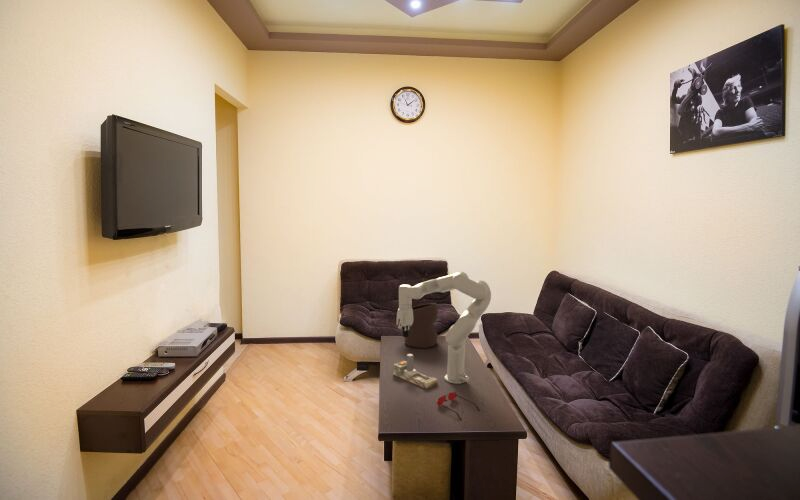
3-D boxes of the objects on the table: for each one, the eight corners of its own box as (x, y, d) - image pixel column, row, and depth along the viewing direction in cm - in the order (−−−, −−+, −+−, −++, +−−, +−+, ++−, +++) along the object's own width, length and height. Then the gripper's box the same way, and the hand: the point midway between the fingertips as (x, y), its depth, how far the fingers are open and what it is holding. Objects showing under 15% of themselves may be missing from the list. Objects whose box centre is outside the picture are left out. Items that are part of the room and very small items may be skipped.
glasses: (454, 398, 208) (455, 389, 207) (480, 411, 195) (480, 401, 195) (435, 407, 199) (435, 397, 198) (461, 421, 186) (461, 410, 186)
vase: (437, 337, 305) (438, 298, 302) (436, 349, 278) (437, 307, 275) (401, 335, 308) (402, 297, 304) (397, 348, 281) (398, 305, 278)
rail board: (437, 384, 224) (437, 373, 223) (426, 388, 218) (426, 378, 217) (404, 370, 243) (404, 360, 242) (393, 374, 236) (393, 364, 236)
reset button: (406, 368, 237) (406, 363, 237) (402, 369, 234) (402, 364, 234) (402, 366, 239) (402, 361, 239) (398, 368, 237) (398, 363, 237)
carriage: (416, 374, 233) (416, 354, 232) (409, 376, 229) (410, 357, 228) (409, 371, 236) (410, 352, 235) (403, 374, 233) (403, 354, 231)
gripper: (409, 302, 243) (409, 332, 244) (391, 307, 232) (391, 338, 234) (418, 304, 237) (418, 335, 239) (400, 309, 227) (401, 341, 228)
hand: (405, 336), depth 236 cm, fingers closed
